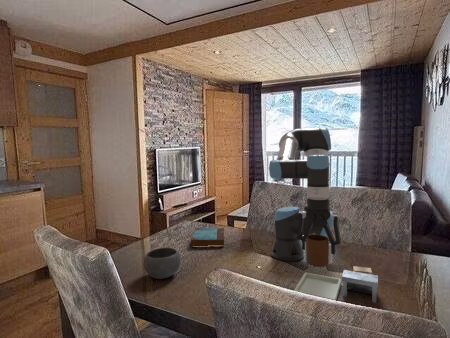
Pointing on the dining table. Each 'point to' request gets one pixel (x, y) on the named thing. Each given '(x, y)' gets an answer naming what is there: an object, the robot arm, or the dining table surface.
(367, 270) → the block
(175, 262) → the bowl
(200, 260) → the dining table surface
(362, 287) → the gray bench
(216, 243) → the book
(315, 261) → the mug
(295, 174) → the robot arm
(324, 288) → the tray
